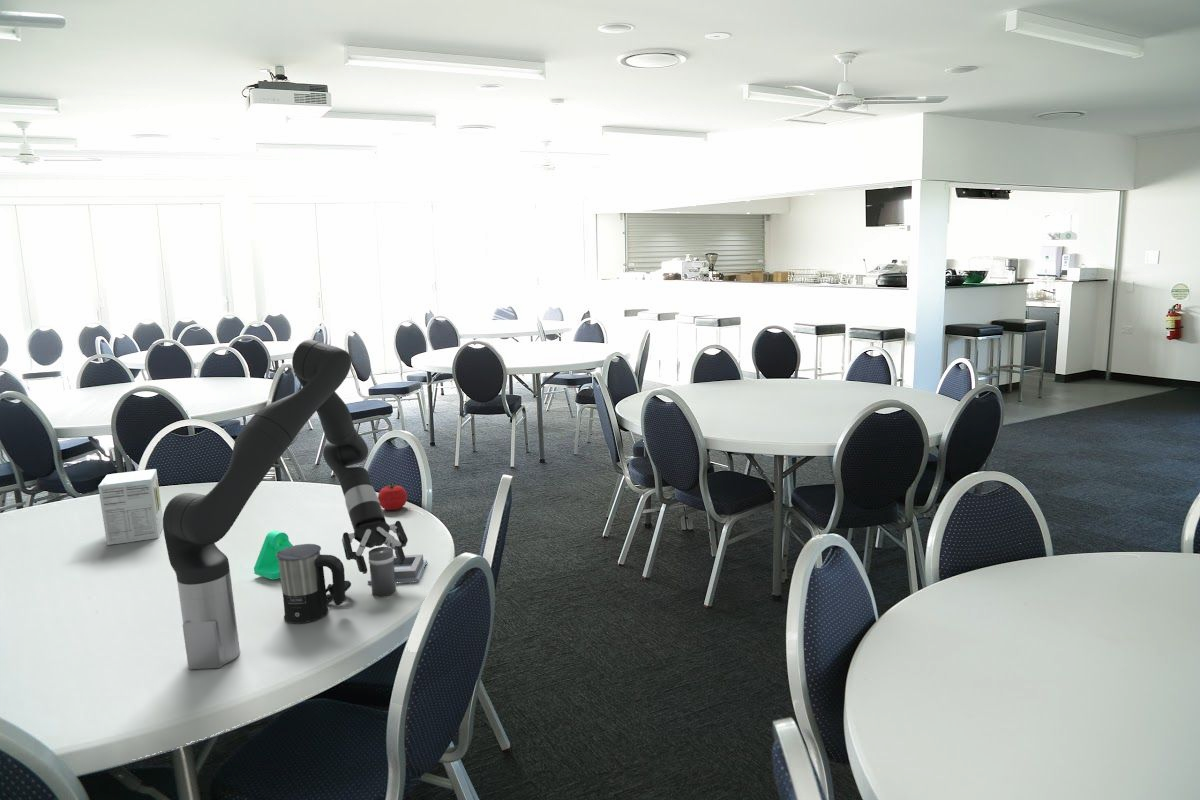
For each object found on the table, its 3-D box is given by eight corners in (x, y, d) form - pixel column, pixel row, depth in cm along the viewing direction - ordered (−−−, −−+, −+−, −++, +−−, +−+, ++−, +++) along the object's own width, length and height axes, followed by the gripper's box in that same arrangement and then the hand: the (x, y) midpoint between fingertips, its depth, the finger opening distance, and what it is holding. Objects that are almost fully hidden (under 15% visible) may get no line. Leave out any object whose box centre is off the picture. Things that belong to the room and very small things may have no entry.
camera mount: (274, 584, 196) (269, 543, 194) (255, 578, 200) (250, 538, 198) (315, 567, 206) (311, 528, 204) (296, 561, 210) (292, 523, 208)
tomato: (378, 506, 253) (375, 481, 251) (407, 503, 255) (405, 478, 254) (379, 515, 245) (377, 489, 243) (409, 511, 247) (407, 486, 246)
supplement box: (159, 538, 231) (151, 479, 228) (106, 546, 227) (97, 485, 223) (165, 524, 243) (157, 468, 240) (114, 531, 239) (106, 474, 235)
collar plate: (418, 581, 194) (417, 571, 193) (367, 584, 193) (366, 574, 193) (427, 562, 205) (426, 553, 205) (379, 565, 205) (378, 555, 205)
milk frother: (280, 627, 172) (273, 561, 170) (288, 597, 187) (281, 536, 185) (350, 617, 176) (344, 552, 173) (353, 589, 191) (347, 528, 188)
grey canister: (393, 596, 186) (390, 555, 184) (369, 597, 186) (365, 556, 184) (398, 586, 191) (395, 546, 189) (375, 587, 191) (371, 547, 189)
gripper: (390, 510, 202) (410, 567, 194) (332, 522, 194) (350, 582, 187) (395, 494, 196) (416, 553, 189) (335, 506, 189) (354, 567, 181)
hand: (383, 567), depth 188 cm, fingers open, 8 cm apart
